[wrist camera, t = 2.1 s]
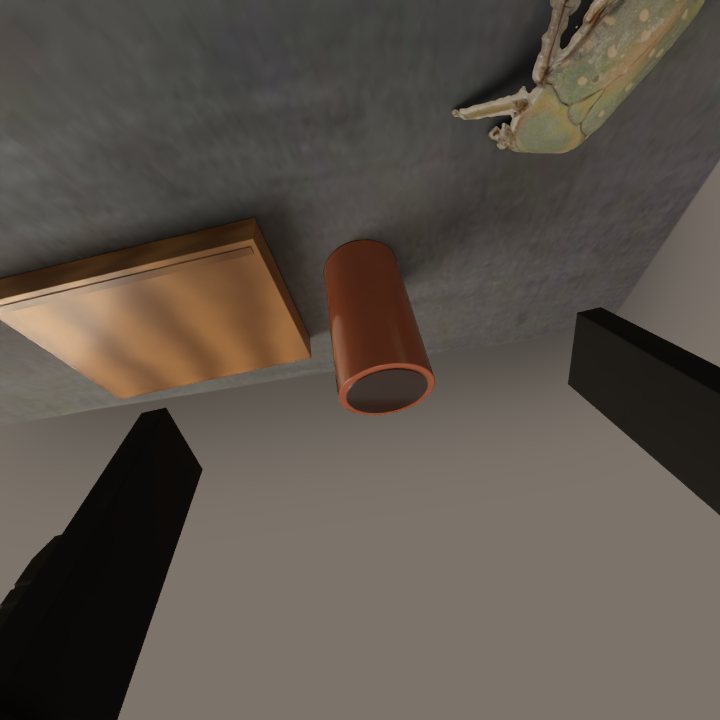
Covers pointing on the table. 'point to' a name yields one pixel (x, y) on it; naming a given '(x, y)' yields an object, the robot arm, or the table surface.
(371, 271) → the pen cup
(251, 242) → the oak board
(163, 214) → the table surface
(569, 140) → the decorative insect model
